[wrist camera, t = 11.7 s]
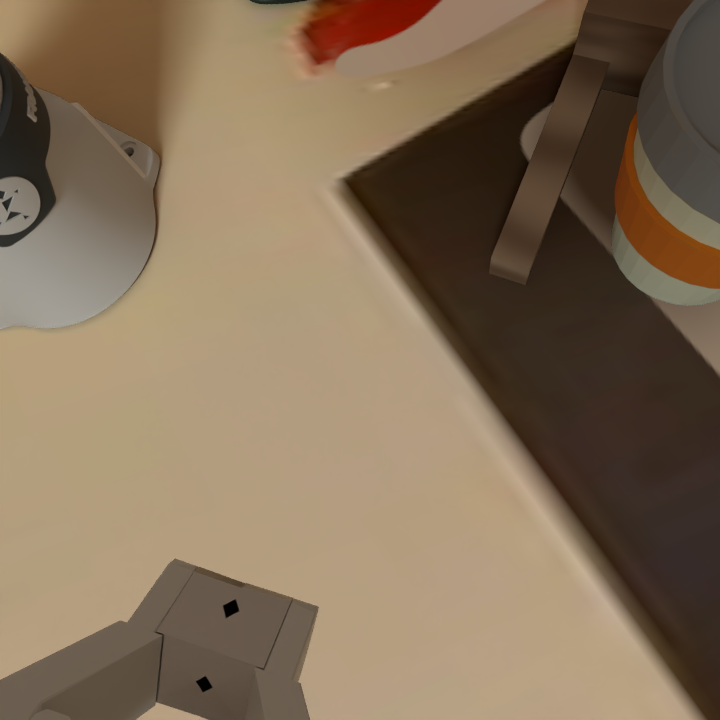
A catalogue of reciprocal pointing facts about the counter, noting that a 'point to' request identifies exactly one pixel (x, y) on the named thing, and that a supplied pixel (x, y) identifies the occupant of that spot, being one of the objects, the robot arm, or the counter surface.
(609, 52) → the walnut bay
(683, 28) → the reusable coffee cup
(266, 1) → the coffee jar
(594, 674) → the counter surface
